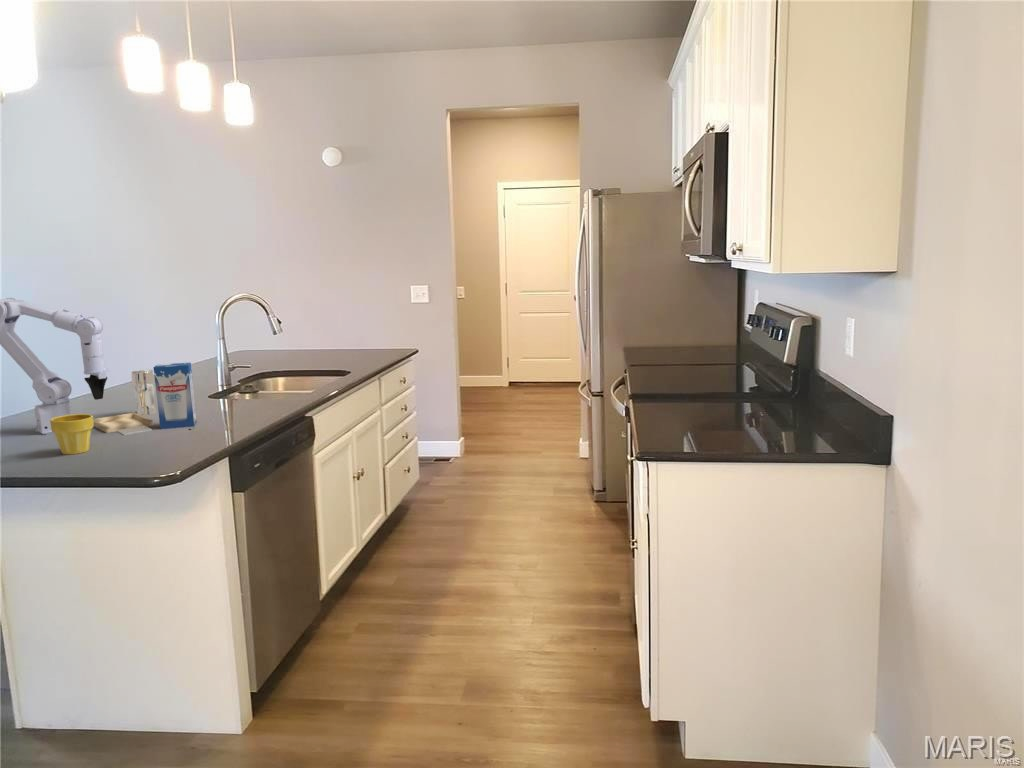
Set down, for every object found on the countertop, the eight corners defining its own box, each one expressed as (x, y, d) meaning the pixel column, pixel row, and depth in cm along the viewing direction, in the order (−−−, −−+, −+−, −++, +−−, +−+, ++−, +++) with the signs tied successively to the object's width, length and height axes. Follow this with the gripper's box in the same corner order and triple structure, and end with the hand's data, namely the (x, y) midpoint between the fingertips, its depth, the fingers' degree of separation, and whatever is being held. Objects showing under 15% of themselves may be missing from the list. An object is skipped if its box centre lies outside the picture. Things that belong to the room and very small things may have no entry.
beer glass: (134, 417, 253) (129, 373, 251) (136, 413, 260) (131, 370, 257) (157, 415, 256) (152, 371, 253) (158, 411, 262) (153, 369, 260)
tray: (107, 434, 230) (106, 427, 230) (90, 426, 242) (89, 419, 241) (153, 426, 239) (152, 419, 239) (135, 419, 251) (134, 412, 251)
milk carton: (160, 431, 233) (153, 367, 229) (163, 426, 239) (156, 364, 235) (194, 428, 236) (188, 365, 232) (197, 423, 242) (191, 362, 238)
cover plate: (124, 438, 227) (123, 433, 226) (117, 434, 232) (116, 430, 231) (152, 433, 232) (151, 429, 232) (144, 430, 237) (144, 425, 237)
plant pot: (104, 445, 216) (99, 412, 215) (85, 455, 206) (80, 420, 205) (67, 447, 216) (62, 413, 214) (46, 457, 206) (41, 422, 204)
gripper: (114, 356, 233) (119, 399, 235) (99, 353, 243) (105, 394, 245) (89, 359, 228) (94, 403, 230) (75, 355, 238) (81, 397, 241)
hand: (98, 399), depth 238 cm, fingers closed
